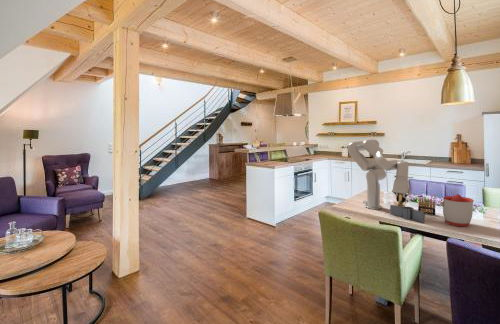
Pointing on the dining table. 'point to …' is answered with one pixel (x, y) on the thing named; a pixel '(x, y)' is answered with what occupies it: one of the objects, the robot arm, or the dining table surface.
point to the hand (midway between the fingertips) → (400, 201)
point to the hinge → (407, 213)
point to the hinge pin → (400, 200)
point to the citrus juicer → (457, 210)
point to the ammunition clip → (426, 206)
